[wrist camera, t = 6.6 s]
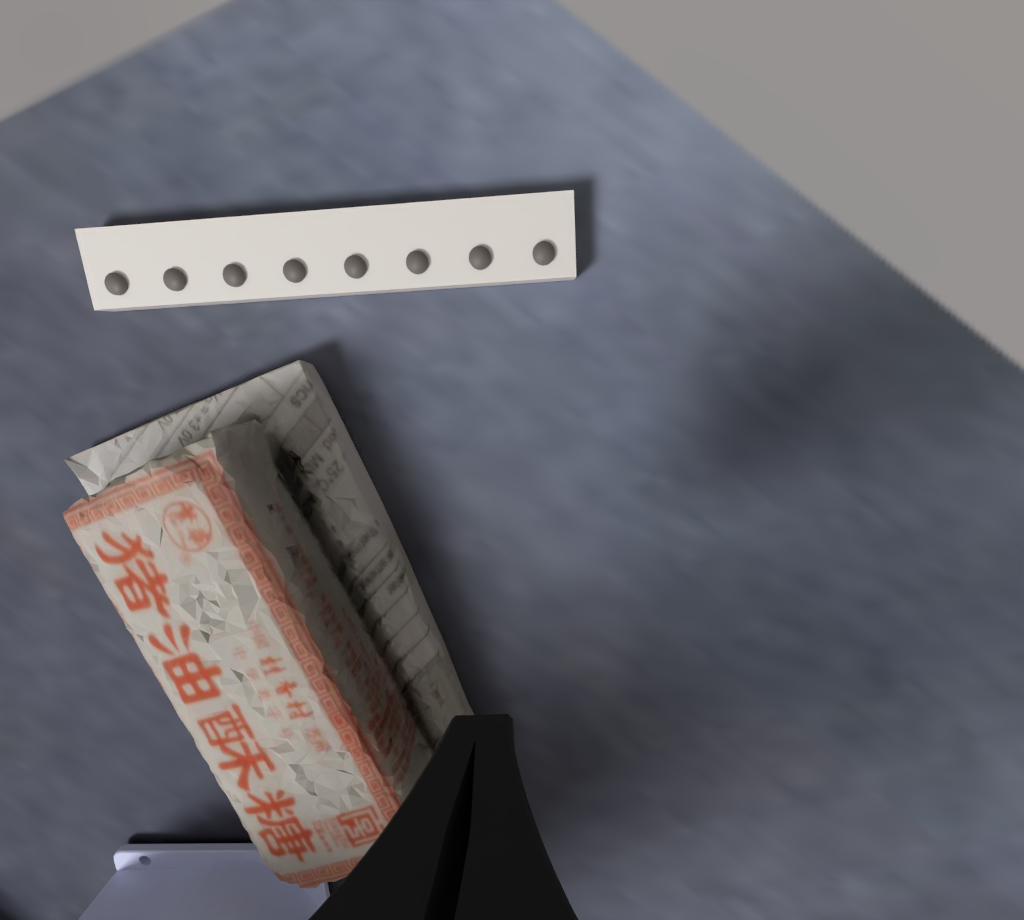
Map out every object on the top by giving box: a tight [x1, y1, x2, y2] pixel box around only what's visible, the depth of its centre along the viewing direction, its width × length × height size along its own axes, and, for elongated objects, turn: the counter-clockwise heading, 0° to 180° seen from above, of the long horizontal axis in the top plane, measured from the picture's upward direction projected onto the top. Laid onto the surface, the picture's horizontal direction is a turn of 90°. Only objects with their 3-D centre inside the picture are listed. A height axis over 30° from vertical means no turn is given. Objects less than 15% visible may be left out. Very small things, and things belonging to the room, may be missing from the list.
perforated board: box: [75, 190, 576, 311], centre depth 16 cm, size 16×2×1 cm, turn 94°
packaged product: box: [63, 360, 474, 888], centre depth 18 cm, size 18×5×10 cm
